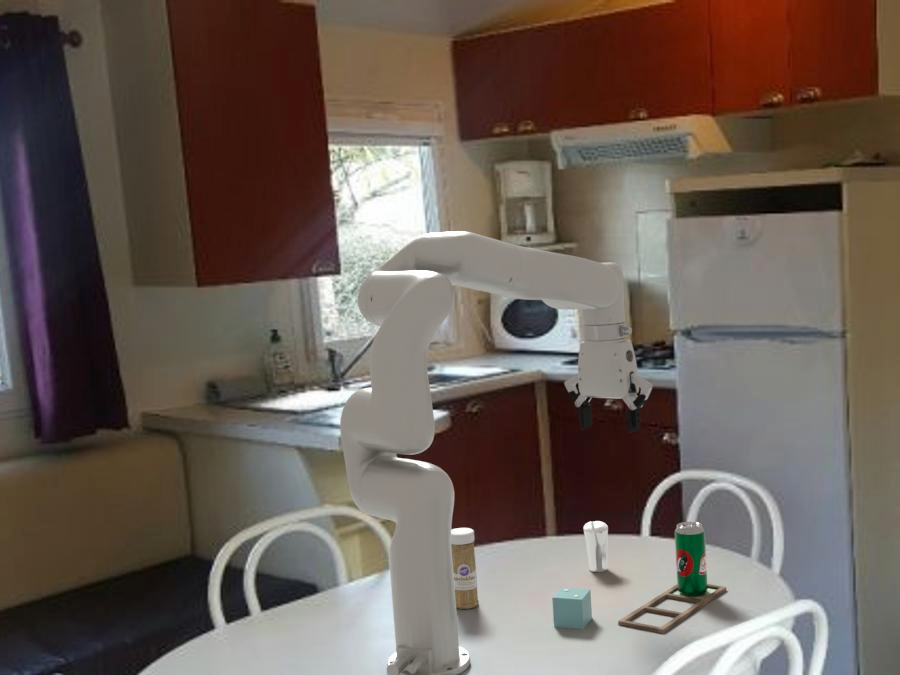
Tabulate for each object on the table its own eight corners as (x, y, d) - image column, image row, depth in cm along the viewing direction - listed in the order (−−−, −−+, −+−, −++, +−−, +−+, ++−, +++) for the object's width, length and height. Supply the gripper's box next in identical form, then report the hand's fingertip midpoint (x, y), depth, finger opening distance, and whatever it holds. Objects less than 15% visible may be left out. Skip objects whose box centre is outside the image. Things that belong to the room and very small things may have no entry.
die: (583, 629, 180) (581, 599, 180) (554, 627, 182) (552, 597, 182) (592, 618, 185) (590, 588, 184) (563, 616, 187) (561, 587, 186)
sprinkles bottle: (457, 611, 193) (452, 535, 191) (450, 603, 197) (444, 529, 196) (482, 607, 194) (477, 531, 192) (474, 599, 198) (469, 525, 197)
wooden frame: (663, 633, 176) (662, 629, 176) (618, 624, 181) (618, 621, 181) (726, 590, 193) (726, 587, 193) (683, 583, 198) (683, 580, 198)
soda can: (708, 597, 190) (704, 528, 189) (677, 597, 191) (674, 529, 190) (707, 587, 195) (704, 520, 193) (678, 587, 196) (674, 521, 195)
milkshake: (583, 574, 207) (579, 522, 206) (588, 565, 212) (585, 514, 211) (607, 575, 206) (604, 522, 205) (612, 566, 211) (609, 514, 210)
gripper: (658, 331, 193) (664, 428, 195) (574, 330, 204) (579, 422, 206) (637, 336, 187) (642, 436, 189) (551, 335, 198) (557, 430, 200)
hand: (610, 429), depth 197 cm, fingers open, 9 cm apart
